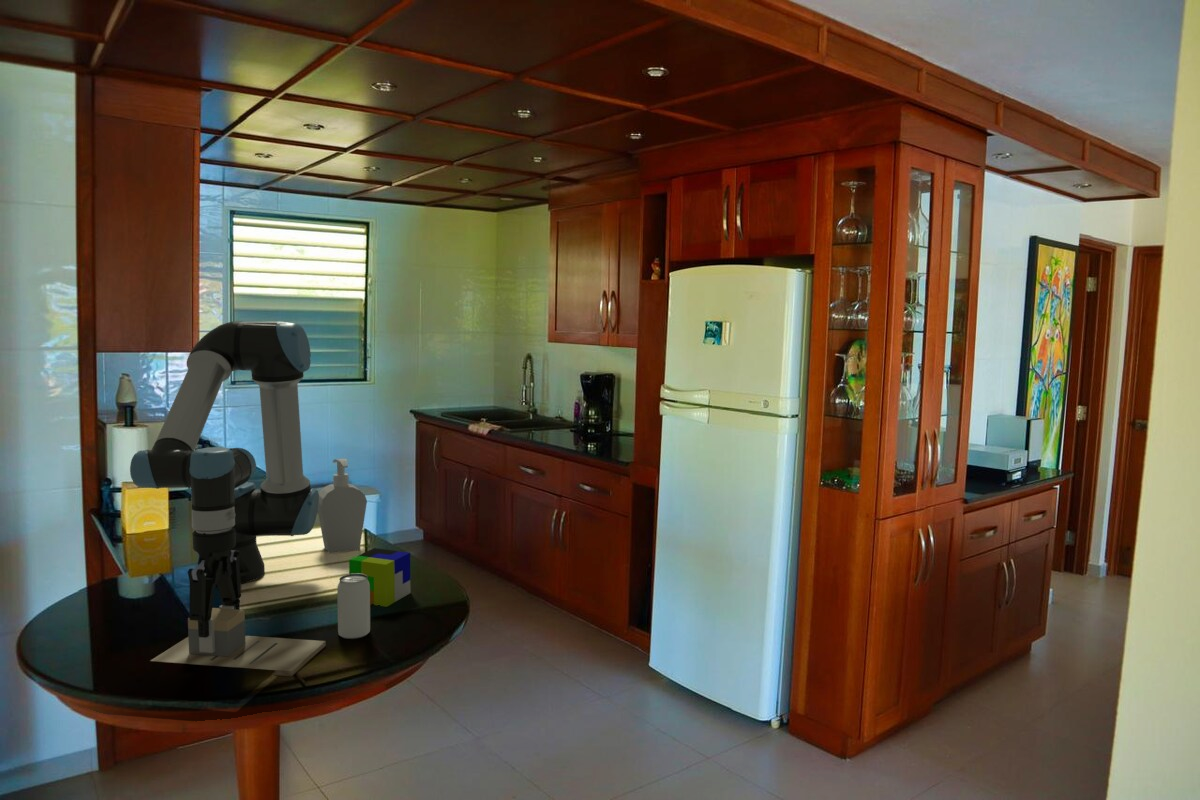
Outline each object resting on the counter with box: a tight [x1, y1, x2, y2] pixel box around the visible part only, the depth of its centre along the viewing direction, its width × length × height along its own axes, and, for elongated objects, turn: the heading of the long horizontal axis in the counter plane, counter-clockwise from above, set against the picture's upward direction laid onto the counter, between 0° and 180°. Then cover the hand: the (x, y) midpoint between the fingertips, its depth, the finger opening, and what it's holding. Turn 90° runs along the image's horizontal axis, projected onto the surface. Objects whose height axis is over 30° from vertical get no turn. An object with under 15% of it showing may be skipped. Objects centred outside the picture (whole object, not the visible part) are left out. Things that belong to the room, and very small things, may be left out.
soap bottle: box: [317, 458, 368, 554], centre depth 228 cm, size 12×10×26 cm
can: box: [336, 573, 371, 640], centre depth 170 cm, size 6×6×12 cm
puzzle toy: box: [348, 547, 411, 608], centre depth 192 cm, size 10×10×10 cm
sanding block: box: [187, 607, 246, 657], centre depth 158 cm, size 8×6×7 cm
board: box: [149, 635, 327, 677], centre depth 158 cm, size 28×14×1 cm, turn 83°
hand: (217, 644), depth 158 cm, fingers closed on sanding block, 6 cm apart
